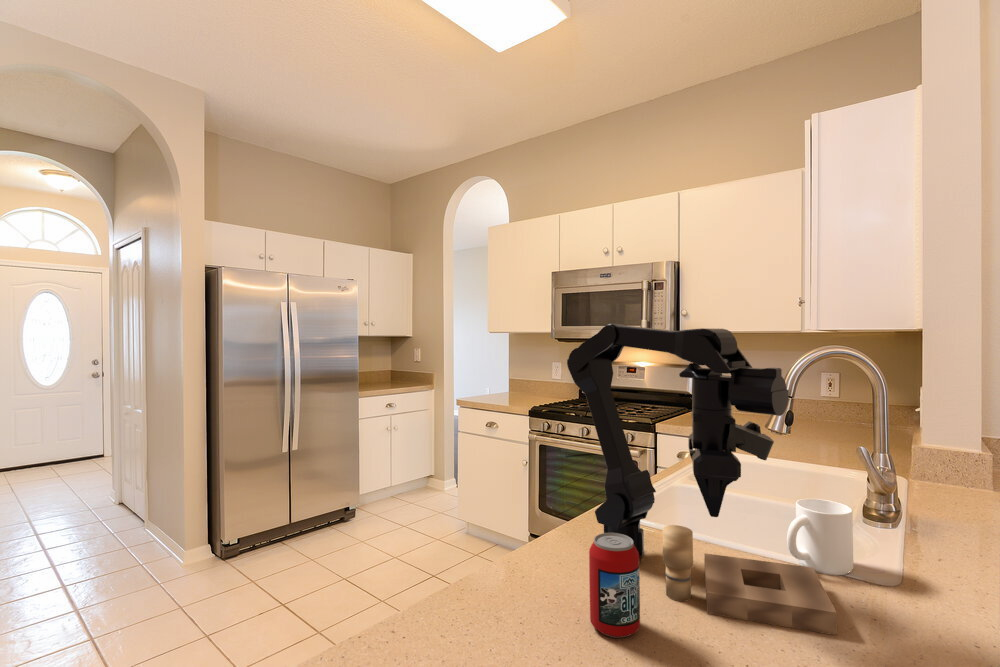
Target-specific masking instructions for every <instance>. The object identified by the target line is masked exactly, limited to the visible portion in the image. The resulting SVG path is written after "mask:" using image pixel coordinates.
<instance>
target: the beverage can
mask: <svg viewBox="0 0 1000 667" xmlns="http://www.w3.org/2000/svg"><path fill="white" fill-rule="evenodd" d="M588 557H589V559H588V560H589V562H588V564H589V567H588V568H589V569H588V570H589V577H588V578H589V581H588V582H589V616H590V617H589V619H590V623H591V625H592V626H593V628H595V629H596V630H597V631H599V632H600V633H601V634H603V635H604V636H607V637H610V638H616V639H619V638H621V637H622V638H626V636H627V637H628V636H629V637H630V635H633V634H635V633H636V632H637V631H638V630H639V629H640V627H641V601H640V600H641V596H640V595H641V593H640V592H641V590H640V588H641V587H640V585H641V584H640V561H639V553H638V551H637V549H636V547H635V545H634V542H633V540H632V539H631V538H630V537H628V536H626V535H623V534H618V533H604V532H603V533H599V534H597V535H595V536H594V539H593V542H592V543H591V546H590V548H589V552H588Z"/></svg>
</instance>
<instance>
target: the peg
mask: <svg viewBox="0 0 1000 667" xmlns="http://www.w3.org/2000/svg"><path fill="white" fill-rule="evenodd" d="M693 533H694V532H693V530H692V529H691V528H689V527H686V526H682V525H676V524H675V525H674V524H672V525H671V524H668V525H665V526H663V527H662V563H663V564H664V565H665V571H664V575H665V592H666V593H665V595H666V597H668V598H669V599H671V600H673V601H677V602H687V601H689V600H691V598H692V589H691V587H692V586H691V584H692V583H691V581H692V580H691V579H692V574H691V569H692V568H693V567H694V541H693V540H694V539H693V536H694V535H693Z"/></svg>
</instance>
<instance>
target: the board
mask: <svg viewBox="0 0 1000 667" xmlns="http://www.w3.org/2000/svg"><path fill="white" fill-rule="evenodd" d="M703 554H704V581H705V583H704V584H705V600H706V601H705V602H706V614H708V615H709V614H711V615H716V616H720V617H721V616H722V617H728V618H733V619H737V620H745V621H751V622H755V623H756V622H757V623H762V624H768V625H775V626H779V627H780V626H781V627H785V628H791V629H798V630H804V631H809V632H815V633H822V634H829V635H833V636H838V614H837V611H836V610H837V609H836V608H835V607H834V605H833V602H832V601H831V599H830V597H829V594H827V592H826V589H825V588H824V586H823V584H822V581H820V579H819V577H818V574H817V572H816V571H814V569H813V567H805V566H803V565H797V564H791V563H790V564H789V563H782V562H774V561H767V560H758V559H751V558H744V557H743V558H742V557H736V556H728V555H722V554H721V555H720V554H713V553H703Z"/></svg>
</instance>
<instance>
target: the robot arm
mask: <svg viewBox="0 0 1000 667" xmlns="http://www.w3.org/2000/svg"><path fill="white" fill-rule="evenodd" d="M624 347H627V348H635V349H642V350H646V351H647V350H649V351H653V352H654V351H656V352H661V353H668V354H671V355H674V356H676V357H678V358H679V359H682V360H684V361H687V362H690V363H688V366H686V368H684V369H683V370H682V371H680V372H679V374H678V375H679V377H680V378H682V379H683V378H685V379H687V378H688V379H692V380H691V381H692V393H691V394H692V397H691V398H692V399H691V400H692V402H691V404H692V405H691V406H692V409H691V420H692V425H691V427H692V428H691V431H692V432H691V434H689V435H688V436H687V438H688V444H687V446H688V450H689V451H688V452H689V456H690V458H691V461H692V472H693V473H692V474H693V476H694V479H695V481H696V483H697V486H698V488H699V491H700V493H701V496H702V498H703V502H704V504H705V506H706V508H707V511H708V515H709V516H710V517H711V518H718V517H719V515H720V512H721V508H722V504H723V501H724V497H725V493H726V490H727V487H728V486H729V485H730V484H732V483H733V482H737V481H738V480H739V478H741V477H742V463H741V462H740V460H739V458H738V457H737V456H736V455H735V454H734V453H736V452H737V449H739V450H740V451H743V452H746V453H748V454H751V455H753V456H756V457H757V459H760V460H762V461H767V459H768V457H769V455H770V452H771V450H772V447H773V445H774V443H775V441H774V440H773V439H772V438H771V436H768V435H767V434H765V433H762V432H761V425H759V424H758V423H755V422H753V421H751V420H750V421H748V422H746V423H745V424H744V425H742V424H737V423H736V422H737V421H736V418H734V416H733V415H732V406H734V407H735V409H736V411H739V412H744V413H753V414H761V415H770V416H777V417H781V416H782V415H783V414H784V413H785V412H786V410H787V407H788V403H789V389H787V384H786V380H785V378H784V377H783V376H782V374H783V373H782V371H783V370H782V368H781V367H767V368H760V367H753V366H752V365H751V363H750V362H749V361H748V359H747V358H746V357H745V355H744V354H743V353H742V352H741V349H739V347H738V342H737V340H736V337H735V336H734V334H733V332H732V331H730V330H728V329H726V328H691V329H681V330H669V329H660V328H652V327H651V328H650V327H642V326H641V327H640V326H633V325H632V326H631V325H627V324H623V323H609V324H606V325H605V326H603V327H602V328H601V329H600V330H599V331H598V332H597V333H596V334H594V335H593V336H591V337H589V338H588V339H587V340H585V341H583V342H582V343H581V344H580V345H579V346H577V347H575V348H574V349H573V350H572V351H570V353H569V355H568V358H567V359H566V365H567V369H568V371H569V374H570V376H571V379H572V381H573V383H574V384H575V385H576V386H577V388H579V389H580V391H582V393H583V394H584V395H585V397H586V400H587V405H588V407H589V410H590V411H589V412H590V414H591V417H592V418H591V419H592V420H593V421H592V422H593V424H594V428H595V433H596V435H597V438H598V442H599V445H600V447H601V452H602V455H603V458H604V462H605V466H606V477H605V482H604V491H605V492H604V493H605V499H606V500H604V502H603V503H601V505H600V506H598V507H597V508H596V510H595V511H594V514H595V518H596V521H597V523H598V524H601V525H603V533H618V534H623V535H626V536H628V537H630V538H631V539H632V540H633V542H634V545H635V547H636V549H637V551H638V553H639V562H640V561H641V557H643V555H644V552H645V550H644V549H645V547H644V546H645V544H644V542H645V540H644V529H643V528H642V527H641V520H644V519H647V516H648V512H649V511H650V510H652V508H653V506H654V504H655V493H656V492H657V491H656V489H655V487H654V485H653V483H652V479H651V474H650V472H649V470H648V469H645V470H641V469H640V468H639V467H638V466H637V465H636V464H635V462H634V459H633V457H632V453H631V450H630V446H629V443H628V440H627V437H626V434H625V431H624V427H623V424H622V422H621V418H620V414H619V412H618V408H617V404H616V400H615V398H614V395H613V393H612V382H613V377H614V370H613V368H614V367H613V363H614V362H615V361H616V360H617V359H618V358H619V357H620V356H621V354H622V352H623V349H624ZM702 366H705V367H702ZM724 374H730V375H724Z"/></svg>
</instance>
